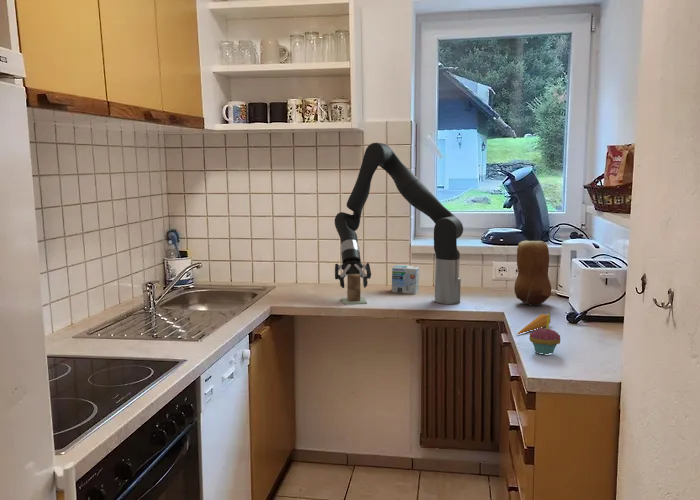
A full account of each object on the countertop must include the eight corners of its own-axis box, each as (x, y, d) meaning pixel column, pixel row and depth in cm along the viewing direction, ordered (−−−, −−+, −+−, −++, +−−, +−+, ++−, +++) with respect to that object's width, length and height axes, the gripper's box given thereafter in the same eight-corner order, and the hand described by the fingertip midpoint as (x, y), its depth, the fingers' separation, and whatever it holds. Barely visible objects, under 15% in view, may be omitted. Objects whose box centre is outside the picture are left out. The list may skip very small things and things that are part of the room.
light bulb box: (391, 292, 249) (391, 267, 247) (394, 289, 255) (395, 264, 254) (416, 294, 246) (416, 268, 244) (419, 291, 252) (419, 266, 250)
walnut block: (358, 298, 235) (358, 273, 234) (360, 300, 231) (360, 275, 229) (347, 298, 235) (347, 273, 233) (348, 301, 230) (348, 276, 229)
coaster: (363, 298, 238) (363, 297, 238) (366, 303, 229) (366, 302, 229) (341, 299, 237) (341, 297, 236) (343, 304, 228) (343, 302, 228)
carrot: (543, 326, 200) (538, 313, 201) (554, 324, 197) (549, 311, 197) (510, 344, 187) (505, 330, 188) (522, 342, 184) (517, 328, 184)
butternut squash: (530, 299, 237) (532, 237, 233) (557, 305, 225) (561, 240, 222) (505, 303, 229) (508, 239, 226) (533, 310, 218) (536, 243, 214)
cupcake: (535, 346, 175) (537, 307, 174) (564, 352, 170) (566, 311, 168) (524, 353, 169) (525, 312, 167) (553, 360, 163) (555, 317, 162)
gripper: (333, 248, 236) (336, 282, 227) (368, 247, 238) (373, 281, 228) (332, 259, 242) (335, 292, 233) (366, 258, 244) (371, 291, 234)
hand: (354, 286), depth 231 cm, fingers open, 8 cm apart
